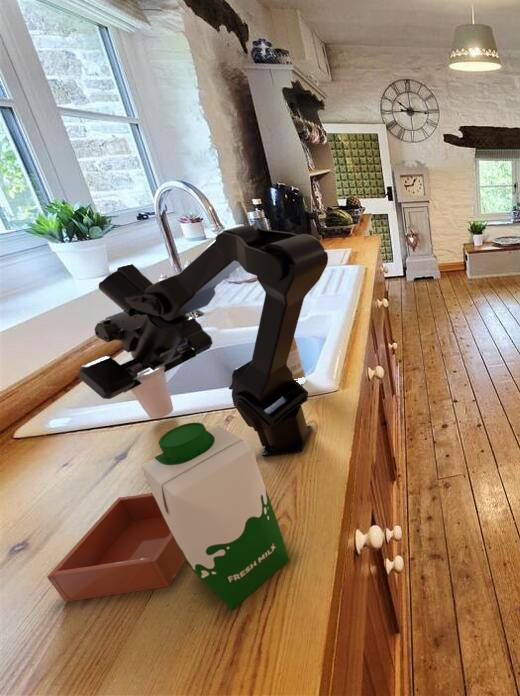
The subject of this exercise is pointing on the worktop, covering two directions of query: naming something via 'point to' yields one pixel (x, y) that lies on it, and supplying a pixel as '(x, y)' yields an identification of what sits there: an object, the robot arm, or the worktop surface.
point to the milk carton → (217, 509)
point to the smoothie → (153, 392)
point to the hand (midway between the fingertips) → (142, 380)
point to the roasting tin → (120, 553)
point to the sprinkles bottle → (295, 362)
